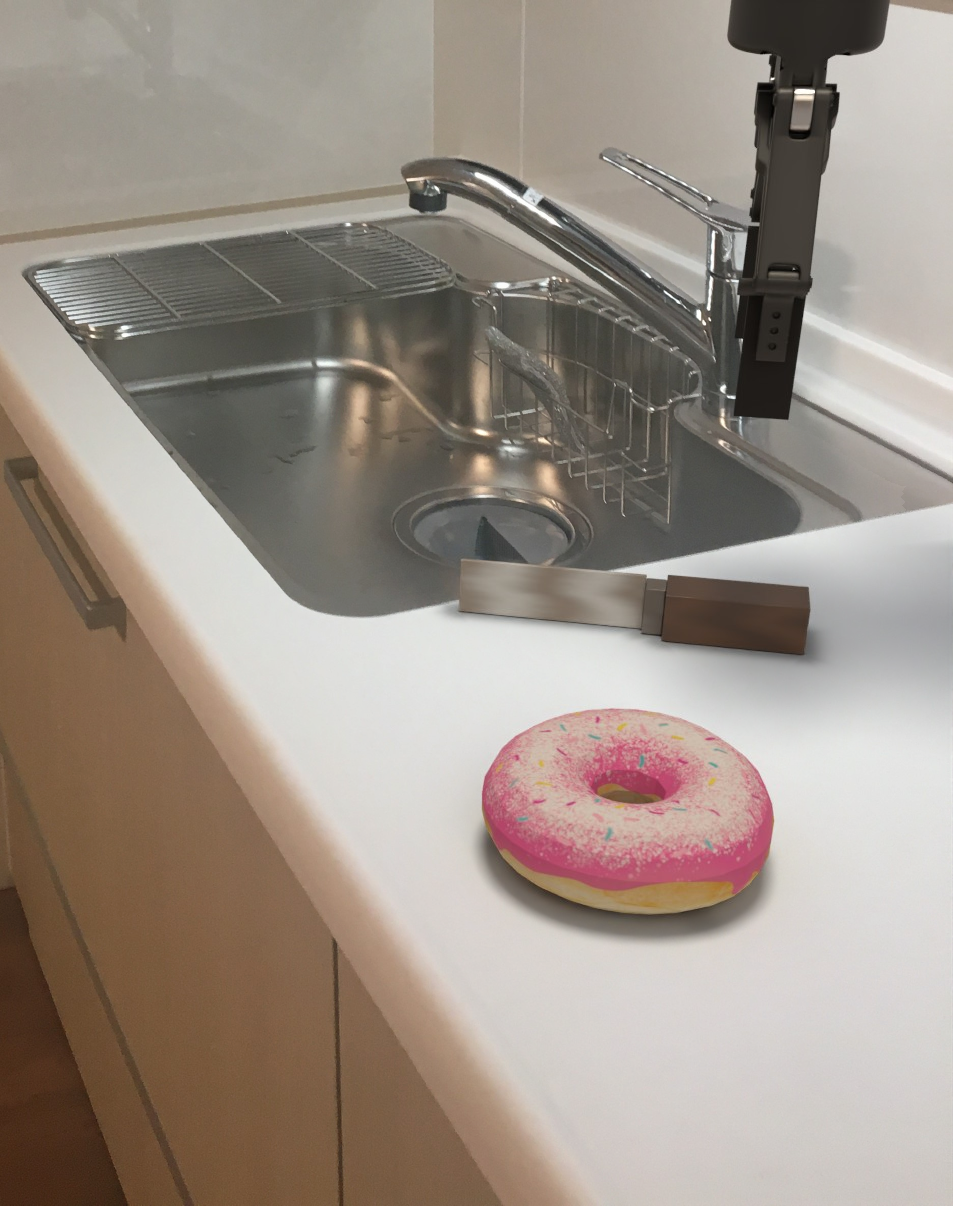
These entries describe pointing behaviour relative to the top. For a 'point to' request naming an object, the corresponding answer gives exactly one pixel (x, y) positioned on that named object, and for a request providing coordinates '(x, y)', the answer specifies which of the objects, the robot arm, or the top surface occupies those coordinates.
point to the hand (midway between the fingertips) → (759, 375)
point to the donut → (628, 811)
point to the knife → (644, 603)
